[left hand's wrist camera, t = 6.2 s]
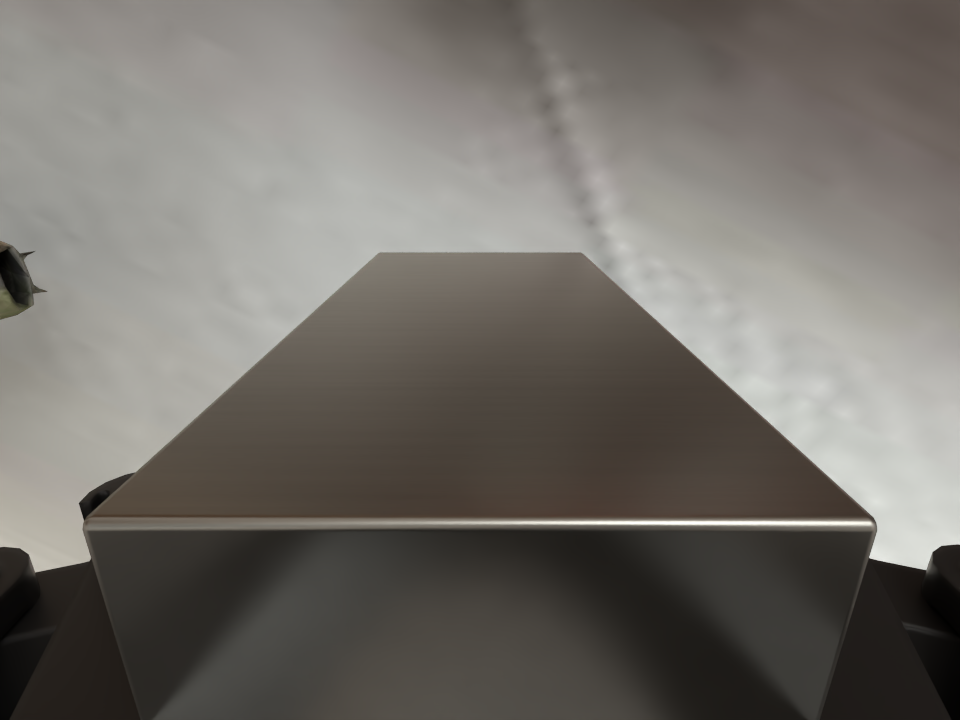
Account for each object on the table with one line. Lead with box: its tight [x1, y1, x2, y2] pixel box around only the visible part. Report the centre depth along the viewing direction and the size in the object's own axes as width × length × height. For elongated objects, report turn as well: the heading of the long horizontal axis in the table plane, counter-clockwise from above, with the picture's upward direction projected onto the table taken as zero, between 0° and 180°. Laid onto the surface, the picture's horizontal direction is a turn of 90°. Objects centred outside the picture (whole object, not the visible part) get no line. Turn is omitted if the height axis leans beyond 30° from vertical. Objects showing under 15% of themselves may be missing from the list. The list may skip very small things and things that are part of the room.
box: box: [83, 253, 877, 720], centre depth 14 cm, size 20×6×13 cm, turn 0°
